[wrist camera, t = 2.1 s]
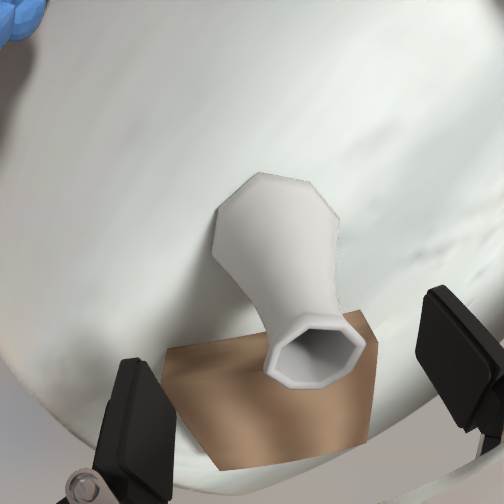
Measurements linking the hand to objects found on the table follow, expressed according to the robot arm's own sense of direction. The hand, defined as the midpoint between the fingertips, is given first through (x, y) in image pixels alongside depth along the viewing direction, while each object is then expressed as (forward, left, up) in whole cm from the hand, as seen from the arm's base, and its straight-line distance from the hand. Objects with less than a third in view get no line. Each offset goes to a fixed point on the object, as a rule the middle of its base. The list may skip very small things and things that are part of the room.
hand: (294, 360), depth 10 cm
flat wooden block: (+1, +14, -10) cm, 17 cm away
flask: (-1, 0, -10) cm, 10 cm away
